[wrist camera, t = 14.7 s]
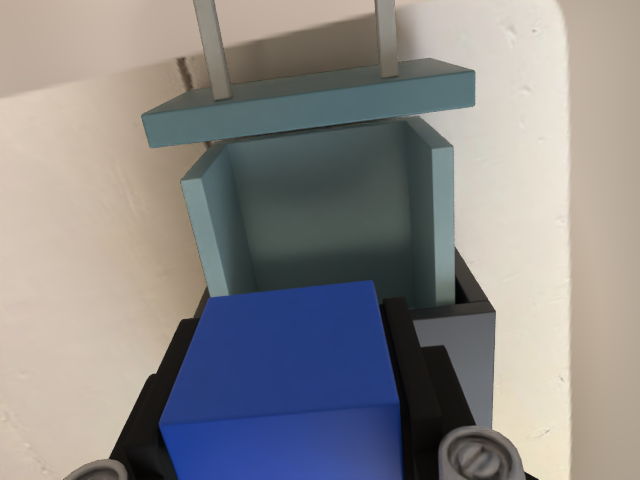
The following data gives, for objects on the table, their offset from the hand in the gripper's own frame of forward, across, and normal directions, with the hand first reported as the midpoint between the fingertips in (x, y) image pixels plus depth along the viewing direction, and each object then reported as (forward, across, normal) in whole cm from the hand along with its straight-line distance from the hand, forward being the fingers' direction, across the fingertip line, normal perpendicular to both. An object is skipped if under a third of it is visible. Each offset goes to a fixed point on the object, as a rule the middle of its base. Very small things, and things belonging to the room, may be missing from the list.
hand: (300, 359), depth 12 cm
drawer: (+14, -1, -1) cm, 14 cm away
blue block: (0, 0, 0) cm, 0 cm away
